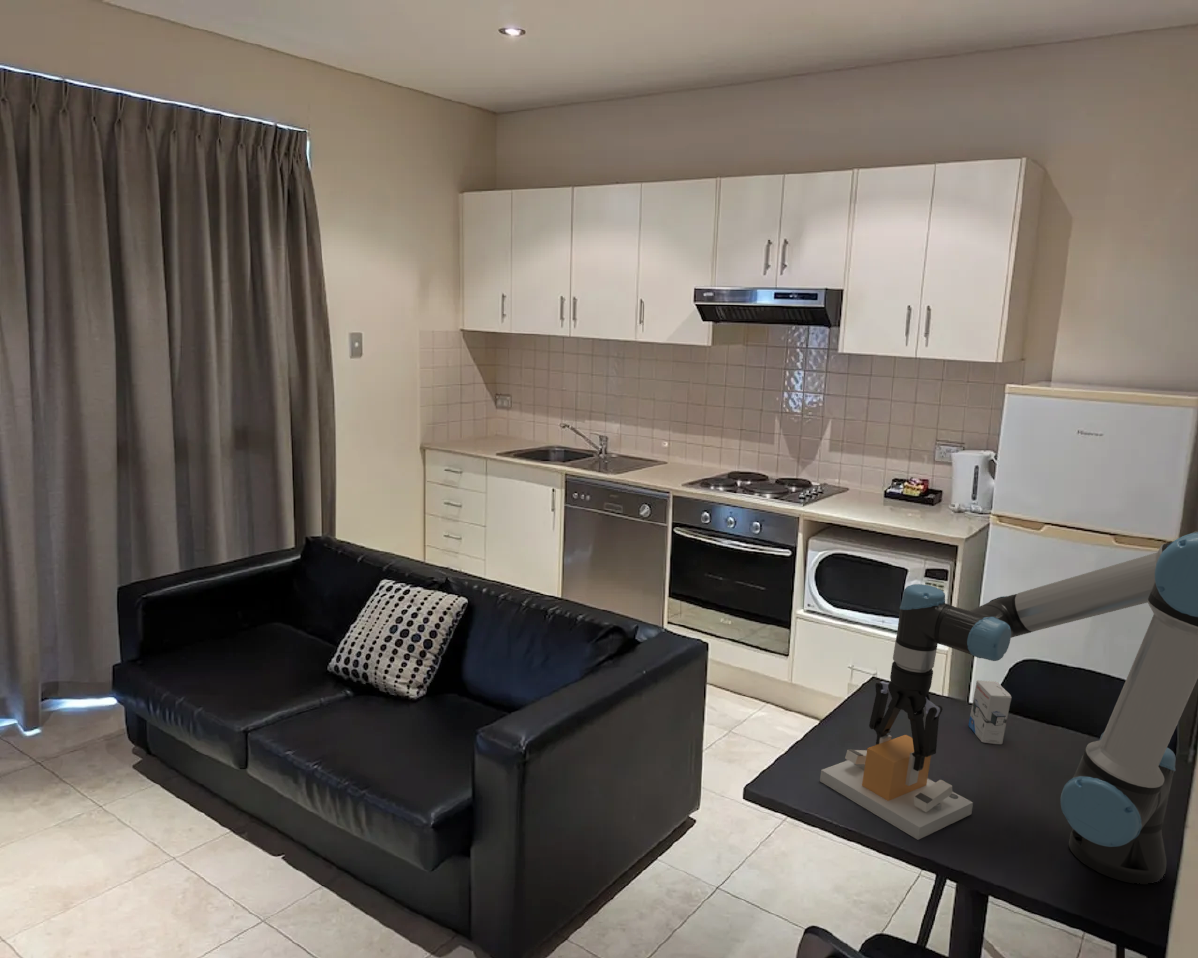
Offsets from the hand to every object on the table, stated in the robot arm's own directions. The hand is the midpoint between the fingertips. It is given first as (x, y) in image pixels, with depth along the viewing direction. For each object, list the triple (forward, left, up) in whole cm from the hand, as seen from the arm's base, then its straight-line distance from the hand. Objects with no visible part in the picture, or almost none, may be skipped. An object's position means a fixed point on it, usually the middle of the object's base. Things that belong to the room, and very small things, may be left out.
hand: (896, 774), depth 176 cm
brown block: (0, 0, -2) cm, 2 cm away
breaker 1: (+8, 0, 0) cm, 8 cm away
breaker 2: (-8, 0, 0) cm, 8 cm away
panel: (0, 0, -5) cm, 5 cm away
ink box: (+6, -43, -5) cm, 44 cm away
